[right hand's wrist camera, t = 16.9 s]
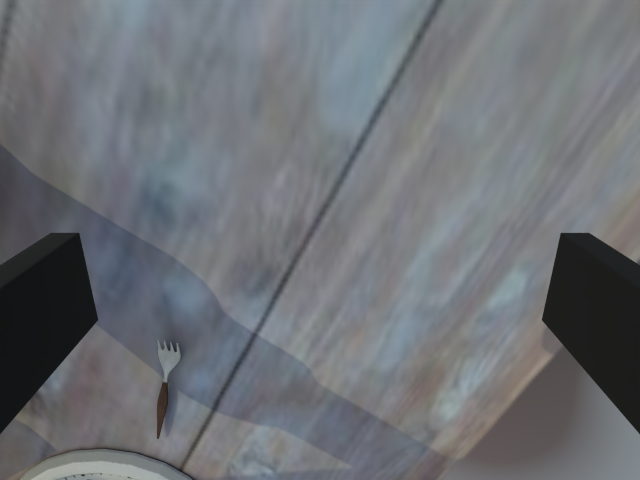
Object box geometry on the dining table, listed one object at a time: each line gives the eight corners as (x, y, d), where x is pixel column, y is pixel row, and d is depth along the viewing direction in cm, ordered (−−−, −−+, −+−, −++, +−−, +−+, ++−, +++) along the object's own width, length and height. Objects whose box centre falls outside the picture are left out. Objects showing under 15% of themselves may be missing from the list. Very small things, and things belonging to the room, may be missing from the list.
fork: (148, 433, 56) (142, 446, 54) (161, 328, 50) (155, 339, 48) (169, 437, 56) (164, 450, 54) (184, 333, 50) (179, 343, 48)
